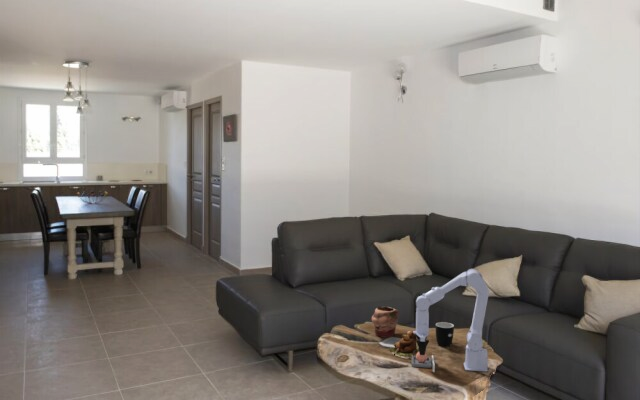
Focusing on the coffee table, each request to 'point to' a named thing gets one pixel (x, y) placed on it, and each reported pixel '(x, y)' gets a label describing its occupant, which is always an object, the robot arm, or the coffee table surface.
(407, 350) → the bear figurine
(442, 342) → the mug
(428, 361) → the dish
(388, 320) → the decorative planter
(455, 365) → the coffee table surface
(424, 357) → the ball
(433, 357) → the acrylic wall
